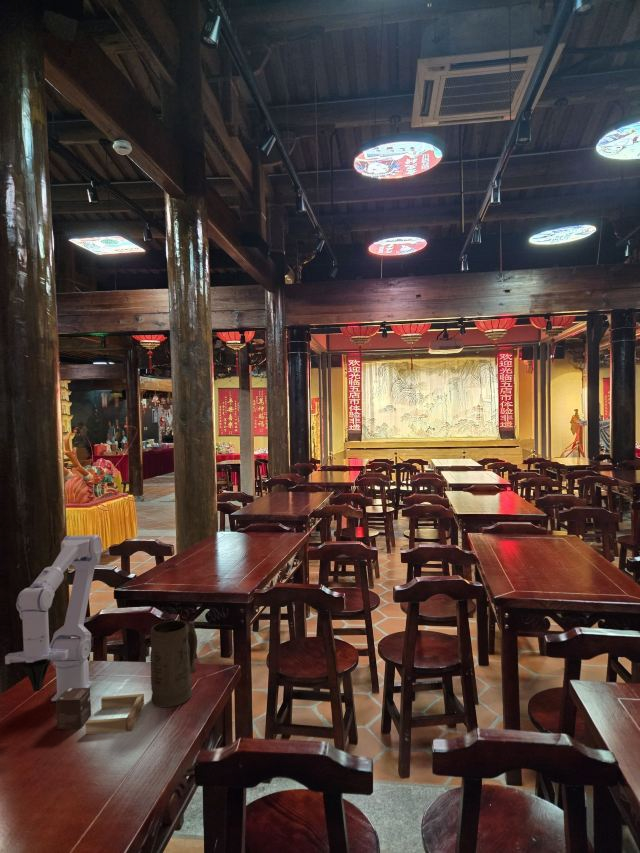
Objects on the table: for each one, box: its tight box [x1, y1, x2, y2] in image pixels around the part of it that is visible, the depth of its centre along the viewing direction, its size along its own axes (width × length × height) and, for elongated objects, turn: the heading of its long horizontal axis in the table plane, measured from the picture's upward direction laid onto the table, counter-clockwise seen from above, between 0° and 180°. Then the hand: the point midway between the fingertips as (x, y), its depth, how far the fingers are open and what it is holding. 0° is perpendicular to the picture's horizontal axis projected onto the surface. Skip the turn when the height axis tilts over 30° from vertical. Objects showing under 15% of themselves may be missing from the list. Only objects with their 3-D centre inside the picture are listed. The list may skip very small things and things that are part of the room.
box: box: [55, 687, 92, 730], centre depth 133 cm, size 6×6×7 cm
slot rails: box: [84, 693, 145, 735], centre depth 134 cm, size 12×11×3 cm
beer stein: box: [149, 619, 198, 708], centre depth 146 cm, size 15×11×20 cm
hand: (38, 689), depth 133 cm, fingers closed
